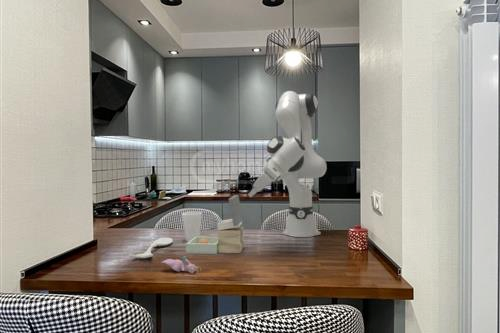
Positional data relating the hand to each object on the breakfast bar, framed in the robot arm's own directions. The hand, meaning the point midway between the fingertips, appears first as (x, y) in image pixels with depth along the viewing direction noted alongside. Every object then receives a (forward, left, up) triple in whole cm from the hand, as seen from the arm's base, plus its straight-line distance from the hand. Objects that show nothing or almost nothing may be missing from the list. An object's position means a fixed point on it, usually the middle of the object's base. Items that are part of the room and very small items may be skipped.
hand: (251, 194), depth 144 cm
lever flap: (0, -9, -14) cm, 16 cm away
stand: (0, -9, -23) cm, 25 cm away
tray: (0, -20, -23) cm, 31 cm away
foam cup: (-17, -32, -24) cm, 43 cm away
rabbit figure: (+29, -21, -24) cm, 43 cm away
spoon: (+4, -42, -24) cm, 49 cm away
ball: (0, -21, -21) cm, 30 cm away
